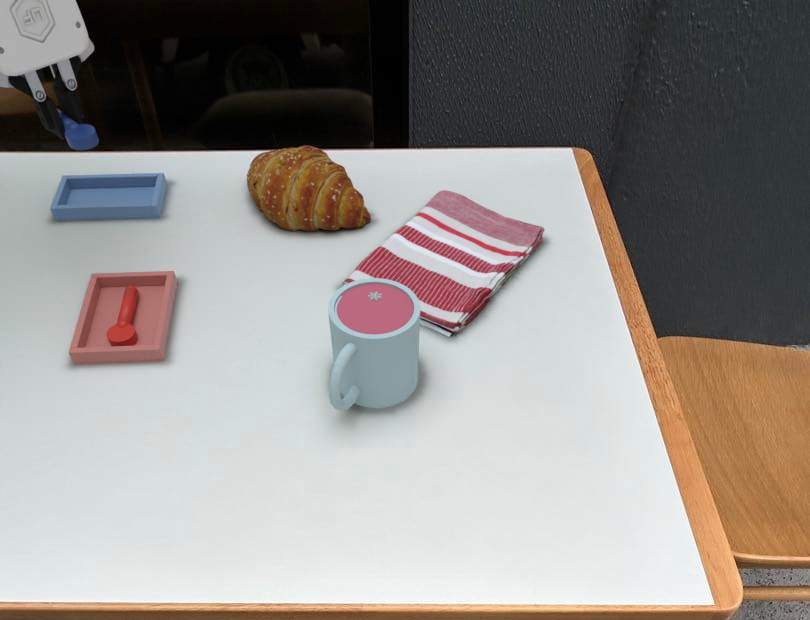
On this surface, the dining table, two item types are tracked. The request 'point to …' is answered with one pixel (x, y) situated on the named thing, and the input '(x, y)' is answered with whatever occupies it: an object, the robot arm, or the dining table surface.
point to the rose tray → (104, 313)
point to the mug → (373, 343)
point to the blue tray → (109, 196)
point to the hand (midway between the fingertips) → (67, 129)
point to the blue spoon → (79, 134)
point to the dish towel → (452, 258)
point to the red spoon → (125, 321)
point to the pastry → (305, 190)
